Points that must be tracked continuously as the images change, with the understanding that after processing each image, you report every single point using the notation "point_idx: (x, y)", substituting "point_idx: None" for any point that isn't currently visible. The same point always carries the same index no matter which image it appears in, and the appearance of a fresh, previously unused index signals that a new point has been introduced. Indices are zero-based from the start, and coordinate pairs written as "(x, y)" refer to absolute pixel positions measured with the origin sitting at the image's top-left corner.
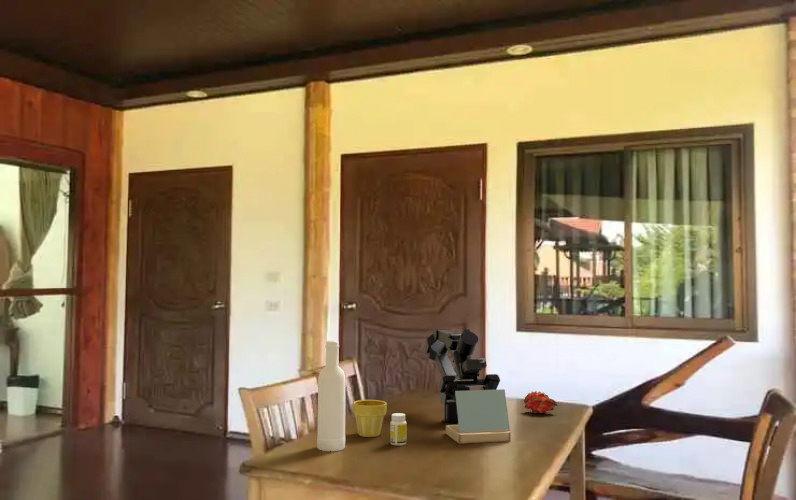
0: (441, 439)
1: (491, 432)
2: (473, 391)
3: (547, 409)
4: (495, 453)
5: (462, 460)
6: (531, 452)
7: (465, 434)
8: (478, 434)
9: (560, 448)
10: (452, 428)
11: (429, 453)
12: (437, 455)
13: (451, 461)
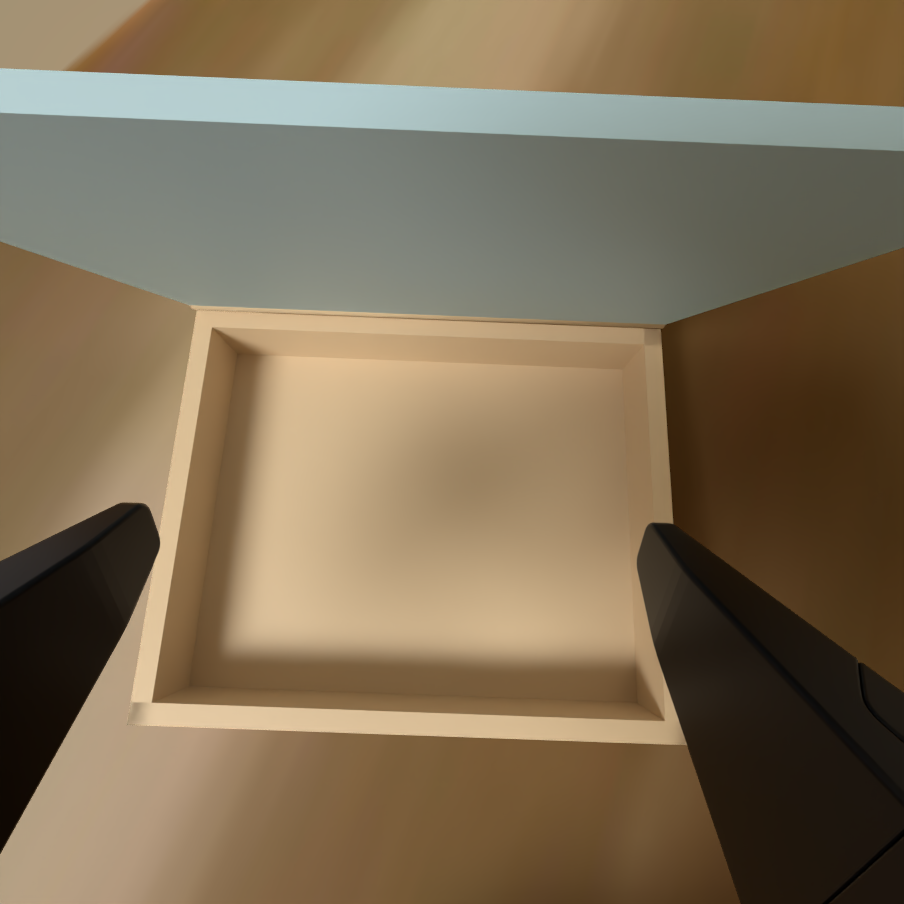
0: (735, 517)
1: (240, 617)
2: (592, 113)
3: None
4: None
5: (715, 28)
6: (252, 74)
7: (601, 332)
8: (486, 324)
9: None
10: (606, 711)
11: None
12: None
13: (781, 26)
